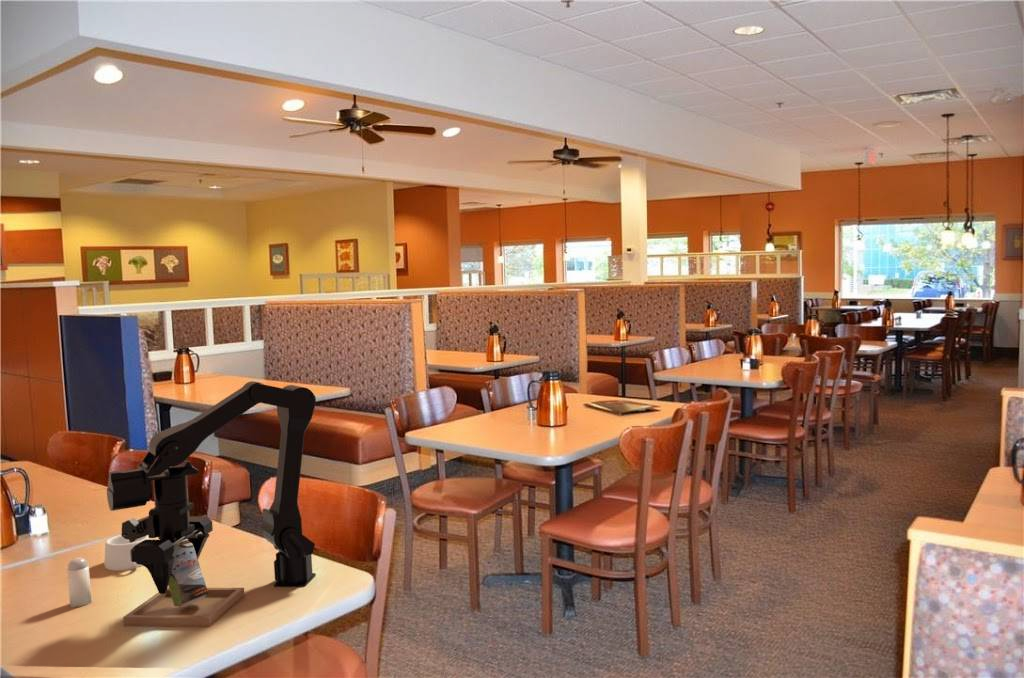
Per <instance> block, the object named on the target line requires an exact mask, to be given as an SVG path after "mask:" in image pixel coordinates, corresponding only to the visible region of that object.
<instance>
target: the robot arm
mask: <svg viewBox="0 0 1024 678" xmlns="http://www.w3.org/2000/svg"><path fill="white" fill-rule="evenodd" d="M316 403H317V398H316V395H315V393H314V392H312V390H310V389H309V388H307V387H303V386H299V385H295V384H294V385H293V384H289V385H286V386H284V387H277V386H273V385H268V384H267V385H266V384H264V383H262V382H258V381H248V382H246V383H245V384H244V385H243V386H242V387H240V388H238V389H237V390H236V391H234V392H233V393H231V394H230V395H228V396H227V397H225V398H223V399H222V400H220V401H219V402H217V403H216V404H214V405H213V406H211V407H210V408H208V409H206V410H205V411H203V412H202V413H200V414H198V415H197V416H195V417H194V418H193V419H190V420H188V421H186V422H183V423H180V424H179V423H178V424H176V425H173V426H171V427H169V428H166V429H164V430H161V431H159V432H157V433H156V434H155V435H153V436H152V437H151V439H150V441H149V443H148V444H149V445H148V451H147V453H146V454H145V456H144V457H143V458H142V460H141V461H140V463H139V464H138V465H137V468H136V469H130V470H115V471H113V470H112V471H109V472H108V482H107V488H106V496H107V497H106V498H107V499H106V500H107V504H108V508H109V511H110V512H112V511H114V512H115V511H119V510H126V509H130V508H132V509H133V508H137V507H143V506H146V505H147V503H148V502H150V501H151V499H152V498H153V497H154V500H153V501H154V507H153V508H151V509H149V511H148V515H147V516H144V517H142V518H139V519H137V518H135V517H132V518H131V519H129V520H125V521H124V522H121V534H120V535H121V536H122V537H124V538H125V539H129V541H130V543H131V542H134V541H135V540H136V539H139V538H142V537H144V536H147V535H148V538H150V540H144V541H142V542H140V543H138V544H137V545H135V546H134V547H133V548H132V549H131V550H130V556H131V562H136V563H137V564H139V565H143V566H142V567H145V568H146V569H147V571H148V572H149V574H150V577H151V579H152V581H153V583H154V585H155V587H156V589H157V593H158V592H159V593H160V594H165V593H166V591H167V588H168V587H169V586H168V584H169V580H170V575H171V571H172V567H173V563H174V559H175V557H172V555H173V552H174V544H175V543H177V542H179V541H182V540H185V539H188V541H189V542H191V543H192V544H193V546H194V549H195V552H196V555H197V558H198V559H199V558H200V556H201V554H202V551H203V549H204V547H205V544H206V543H207V540H208V538H209V537H210V533H211V532H213V521H212V519H211V518H210V517H209V516H190V511H191V510H192V509H194V502H189V488H188V487H189V486H188V485H189V484H188V476H191V475H197V474H199V472H200V471H199V469H198V468H195V466H194V465H192V463H191V462H190V461H189V460H188V458H189V457H191V456H192V455H193V454H194V453H195V452H196V451H197V450H198V448H199V447H200V445H201V444H202V443H203V442H204V441H205V440H206V439H207V438H208V437H210V436H211V435H213V434H214V433H216V432H217V431H219V430H221V429H222V428H224V427H225V426H226V425H228V424H230V422H233V421H234V420H236V419H237V418H238V417H240V416H242V415H243V414H245V413H246V412H247V411H249V410H250V409H252V408H254V407H255V406H257V405H259V404H264V405H269V406H275V407H276V413H277V418H278V422H279V426H280V441H279V449H278V456H277V457H278V458H277V469H276V478H275V489H274V497H273V502H272V504H271V505H270V508H269V509H268V508H262V512H261V513H262V515H261V516H262V520H261V521H262V522H261V524H260V526H259V529H260V530H262V533H263V537H264V538H265V540H266V541H267V542H269V543H270V544H272V545H273V548H274V550H277V551H278V552H276V553H275V560H274V561H273V568H274V569H273V572H274V581H275V583H274V584H273V587H275V588H304V587H307V585H309V583H311V581H312V580H313V579H315V578H316V576H317V574H316V573H315V572H314V573H313V560H312V558H313V557H312V554H313V553H314V550H315V545H316V544H315V543H314V542H313V541H312V540H311V539H309V538H308V537H306V536H305V535H304V534H303V522H302V521H303V520H302V515H301V512H300V508H299V503H298V502H299V501H298V500H299V492H300V491H299V490H300V481H301V473H302V472H301V471H302V462H303V450H304V443H305V433H306V431H307V429H308V427H309V425H310V422H311V421H312V420H313V415H314V411H315V408H316ZM152 482H153V483H152ZM152 484H153V485H152ZM156 538H158V539H156Z"/></svg>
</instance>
